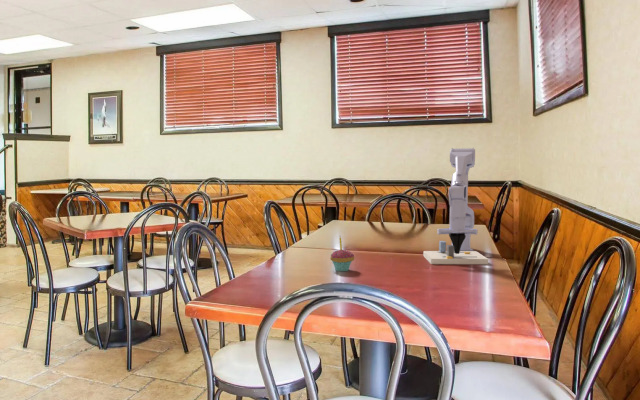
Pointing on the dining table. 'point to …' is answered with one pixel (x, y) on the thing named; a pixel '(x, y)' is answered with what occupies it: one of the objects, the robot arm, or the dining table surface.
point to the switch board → (455, 257)
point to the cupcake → (342, 259)
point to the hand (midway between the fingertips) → (456, 253)
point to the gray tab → (450, 250)
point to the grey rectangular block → (442, 246)
